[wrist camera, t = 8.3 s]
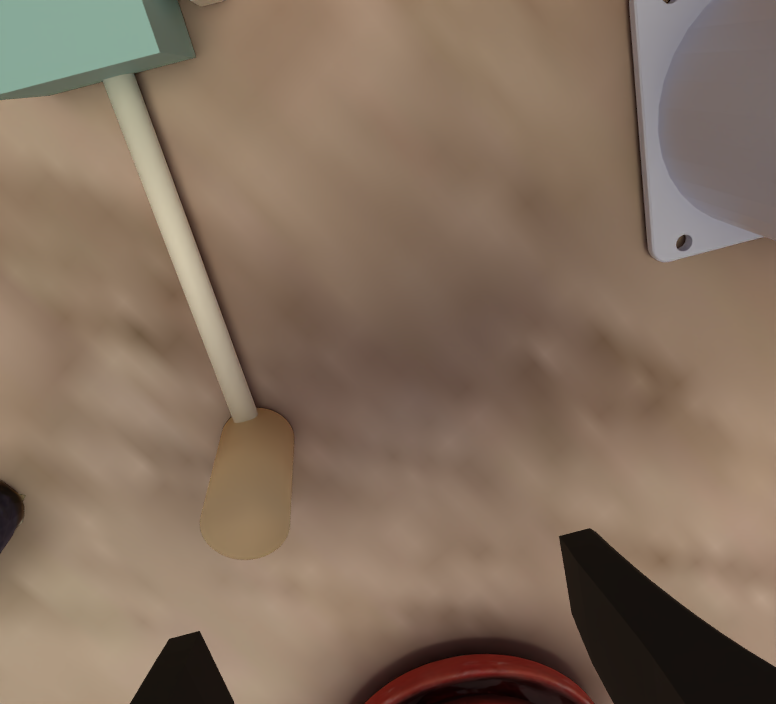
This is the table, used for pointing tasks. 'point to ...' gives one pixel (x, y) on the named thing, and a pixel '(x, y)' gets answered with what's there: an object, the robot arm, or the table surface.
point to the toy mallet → (116, 70)
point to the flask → (9, 512)
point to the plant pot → (481, 683)
